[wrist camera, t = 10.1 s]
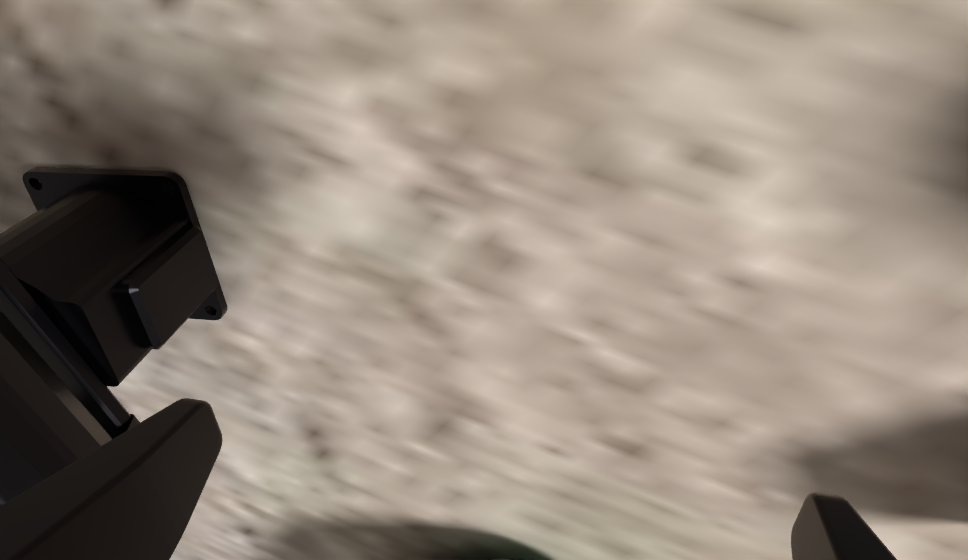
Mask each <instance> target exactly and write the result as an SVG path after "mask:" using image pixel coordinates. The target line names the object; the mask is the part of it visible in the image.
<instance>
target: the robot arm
mask: <svg viewBox="0 0 968 560" xmlns="http://www.w3.org/2000/svg"><path fill="white" fill-rule="evenodd" d="M38 180H39V181H40V182H39V181H38ZM23 182H24V184H25V186H26V188H27V190H28V192H29V194H30V197H31V199H32V201H33V203H34V205H35V207H36V209H37V211H38V212H36V213H34V214H33V215H31V216H29V217H28V218H26V219H24V220H23V221H21V222H19V223H18V224H16V225H14V226H13V227H11V228H10V229H8V230H6V231H5V232H3V233H1V234H0V560H169V559H170V557H171V555H172V554H173V552H174V550H175V548H176V546H177V544H178V543H179V541H180V539H181V537H182V535H183V533H184V531H185V528H186V526H187V524H188V522H189V520H190V518H191V515H192V513H193V511H194V509H195V506H196V504H197V502H198V500H199V497H200V495H201V493H202V490H203V488H204V486H205V484H206V481H207V479H208V477H209V475H210V472H211V470H212V468H213V466H214V463H215V461H216V459H217V457H218V454H219V452H220V449H221V446H222V434H221V431H220V428H219V426H218V423H217V420H216V418H215V415H214V412H213V410H212V407H211V406H210V404H209V403H208V402H206V401H202V400H195V399H188V398H185V399H181V400H178V401H176V402H175V403H173V404H171V405H170V406H168V407H166V408H164V409H163V410H161V411H159V412H158V413H156V414H154V415H153V416H151V417H149V418H148V419H146V420H144V421H142V422H141V423H140V422H139V421H138V419H137V418H136V417H135V416H134V415H133V414H129V413H128V412H127V411H126V409H125V408H124V407H123V406H122V404H121V403H120V402H119V401H118V400H117V398H116V397H115V396H114V395H113V394H112V392H111V391H110V390H109V389H108V387H107V386H113V387H114V386H118V385H119V384H120V383H121V382H122V381H123V380H124V378H125V377H126V376H127V375H128V374H129V373H130V372H131V371H132V370H133V369H134V368H135V367H136V366H137V365H138V364H139V362H140V361H141V360H142V359H143V358H144V357H145V356H146V355H147V354H148V353H149V352H150V351H151V350H152V349H160V348H161V347H162V346H163V345H164V344H165V343H166V342H167V340H168V339H169V338H170V337H171V336H172V335H173V334H174V333H175V332H176V331H177V330H178V329H179V327H180V326H181V325H182V324H183V323H184V322H185V321H186V320H187V319H188V318H191V319H205V320H219V319H220V318H222V316H223V315H224V314H225V313H226V311H227V304H226V301H225V298H224V295H223V292H222V289H221V286H220V283H219V280H218V277H217V274H216V271H215V268H214V265H213V262H212V259H211V256H210V253H209V250H208V247H207V244H206V241H205V238H204V235H203V232H202V230H201V227H200V224H199V221H198V218H197V215H196V212H195V209H194V206H193V203H192V200H191V197H190V194H189V191H188V188H187V185H186V183H185V181H184V180H183V178H182V177H181V176H179V175H178V174H176V173H173V172H164V171H134V170H103V169H72V168H42V167H37V168H33V169H31V170H29V171H27V172H26V173H25V174H24V175H23ZM168 183H169V184H170V185H172V186H173V188H174V190H173V189H171V188H170V187H169V185H168ZM213 307H214V308H215V309H214V308H213ZM791 548H792V558H793V560H897V559H896V558H895V557H894V556H893V554H892V553H891V552H890V551H889V550H888V549H887V547H886V546H885V545H884V544H883V543H882V541H881V540H880V539H879V538H878V537H877V535H876V534H875V533H874V532H873V531H872V530H871V528H870V527H869V526H868V525H867V524H866V522H865V521H864V520H863V519H862V518H861V516H860V515H859V514H858V513H857V512H856V511H855V509H854V508H853V507H852V506H851V505H850V503H849V502H848V501H846V500H845V499H844V498H842V497H840V496H836V495H829V494H822V493H811V494H809V495H808V496H807V497H806V499H805V501H804V504H803V506H802V508H801V510H800V512H799V514H798V517H797V519H796V521H795V523H794V525H793V528H792V533H791Z"/></svg>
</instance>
